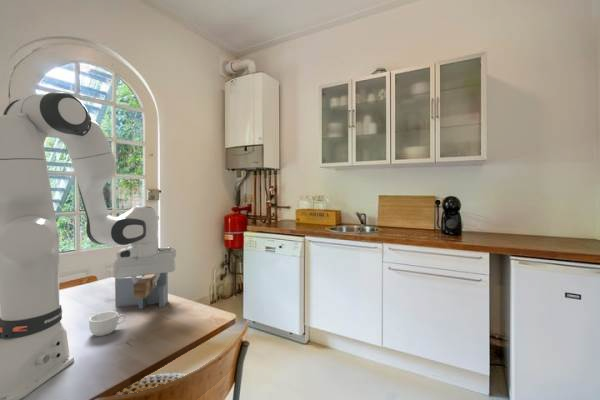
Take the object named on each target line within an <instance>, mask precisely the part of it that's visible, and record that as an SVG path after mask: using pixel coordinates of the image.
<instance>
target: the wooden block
mask: <svg viewBox="0 0 600 400" xmlns="http://www.w3.org/2000/svg"><path fill="white" fill-rule="evenodd" d="M156 277H157V276H156V274H150V275H145V276H144V277H142V278H141V279H140V280H139V281H138V282H136V283H135V284H134V299H142V298H146V297H147V296H148V295H149V294H150V293H151V292H152V291H153V289H154V288H155V287H156V286H157V285H158V280H157V285H155V286H152V284H153V283H152V281H153V280H155V279H156Z"/></svg>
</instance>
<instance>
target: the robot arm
mask: <svg viewBox="0 0 600 400" xmlns="http://www.w3.org/2000/svg"><path fill="white" fill-rule="evenodd" d="M55 137H56V138H57V139H58V140H60V141H61V142H62V143H63V144H64V146H65V147H66V149H67V153H68V156H69V159H70V162H71V165H72V167H73V169H74V172H75V176H76V180H77V181H76V182H77V187H78V192H79V195H80V199H81V203H82V205H83V206H82V207H83V210H84V214H85V216H86V228H85V229H86V234H87V238H88V239H89V240H90V241H91V243H93V244H96V245H100V246H101V245H110V246H111V245H112V246H126V245H129V246H126V247H124V248H121V249H119V250H118V251H117V252H116V259H115V261H114V263H113V268H112V276H113V277H114V279H115V278H116V279H117V278H125V277H131V280H132V281H133V282H134V283H136V282H137V280H136V276H142V275H150V274H156V276H157V277H156V279H155V280H153V281H152V283H153V284H152V286H155V285H157V280H158V278H159V276H160V273H166V272H168V273H172V272H175V270H176V260H175V258H176V257H177V251H176V249H175V248H173V247H171V246H170V247H159V238H158V230H159V228H158V216H157V212H156V209H155V208H153V207H152V206H144V205H133V206H132V207H131V208H130V209H129V210H127V211H126V212H125V213H122V214H121V215H118V216H113V215H112V214H110V213H109V211H108V208H107V207H108V206H107V203H106V199H105V195H104V187H105V186H106V184H108V182H110V181H111V180H112V179H113V177H114V176H115V175H116V173H117V163H116V158H115V155H114V153H113V151H112V148H111V145H110V143H109V141H108V138H107V135H106V134H105V132H104V131H103V129H102V128H101V126H100V124H98V122H96V121H94V120H92V117H91V115H90V114H89V111H88V109H87V107H86V106H85V105H84V103H83V102H82V101H81V100H80V99H79V98H78V97H77V96H75V95H74V94H71V93H68V92H62V91H54V92H53V91H52V92H48V93H42V94H32V95H29V96H26V97H23V98H20V99H16V100H13V101H12V102H10V103H9V104H8V105H7V106H6V107H5V108H4V111H3V114H1V115H0V400H21V399H23V398H25V397H26V396H28V395H29V394H30V393H31V392H33V391H34V390H37V388H39V387H40V386H41V385H43V384H44V383H45V382H47V381H48V380H50V379H51V378H52V377H53V376H56V375H57V374H58V373H59V372H61V371H62V370H64V369H65V368H67V367H68V366H69V365H71V364H73V362H74V361H75V358H74V356H73V355H72V354H70V349H69V339H68V334H67V330H66V329H65V328H64V325H63V324H62V322H61V321H62V319H63V309H62V308H63V307H62V305H61V304H60V235H59V231H58V226H57V221H56V213H55V206H54V201H53V194H52V187H51V181H50V174H49V169H48V163H47V158H46V152H45V141H46V138H55Z"/></svg>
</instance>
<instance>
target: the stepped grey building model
mask: <svg viewBox="0 0 600 400" xmlns="http://www.w3.org/2000/svg"><path fill="white" fill-rule="evenodd" d="M168 274H169V272H166V273H160V276H159V278H158V285H157V286H156V287H155V288H154V289H153V291H152V292H151V293H150V294H149V295H148V296H147V297H146V298H142V299H134V284H135V283H134V282H133V281H132V280H131V277H125V278H117V279H116V278H115V277H114V290H115V292H114V294H115V296H114V298H115V304H114V305H115V307H125V306H138V309H144V308H145V307H146V306H147V305H156V304H155V303H159V304H158V306H159V308H164V307H166V305H167V303H168V302H169V291H168V289H169V288H168V287H169V286H168V284H169V282H168V281H169V279H168V278H169V275H168ZM144 276H145V275H141V276H136V280H137V282H138V281H139V280H140V279H141V278H142V277H144Z"/></svg>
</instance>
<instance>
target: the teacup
mask: <svg viewBox="0 0 600 400" xmlns="http://www.w3.org/2000/svg"><path fill="white" fill-rule="evenodd" d="M122 316H123V319H122V320H120V318H121V317H122ZM119 320H120V321H119ZM125 320H126V314H125V313H124V314H123V313H121V314H119V312H118V311H114V310H113V311H112V310H110V311H103V312H99V313H96V314H93V315H91V316H90V317H89V318H88V325H89V331H90V333H91V334H92V335H93V336H96V337H104V336H108V335H109V334H111V333H112V332H114V331H115V330H116V328H117V326H118V325H120V324H122V323H123V322H124V321H125Z"/></svg>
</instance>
